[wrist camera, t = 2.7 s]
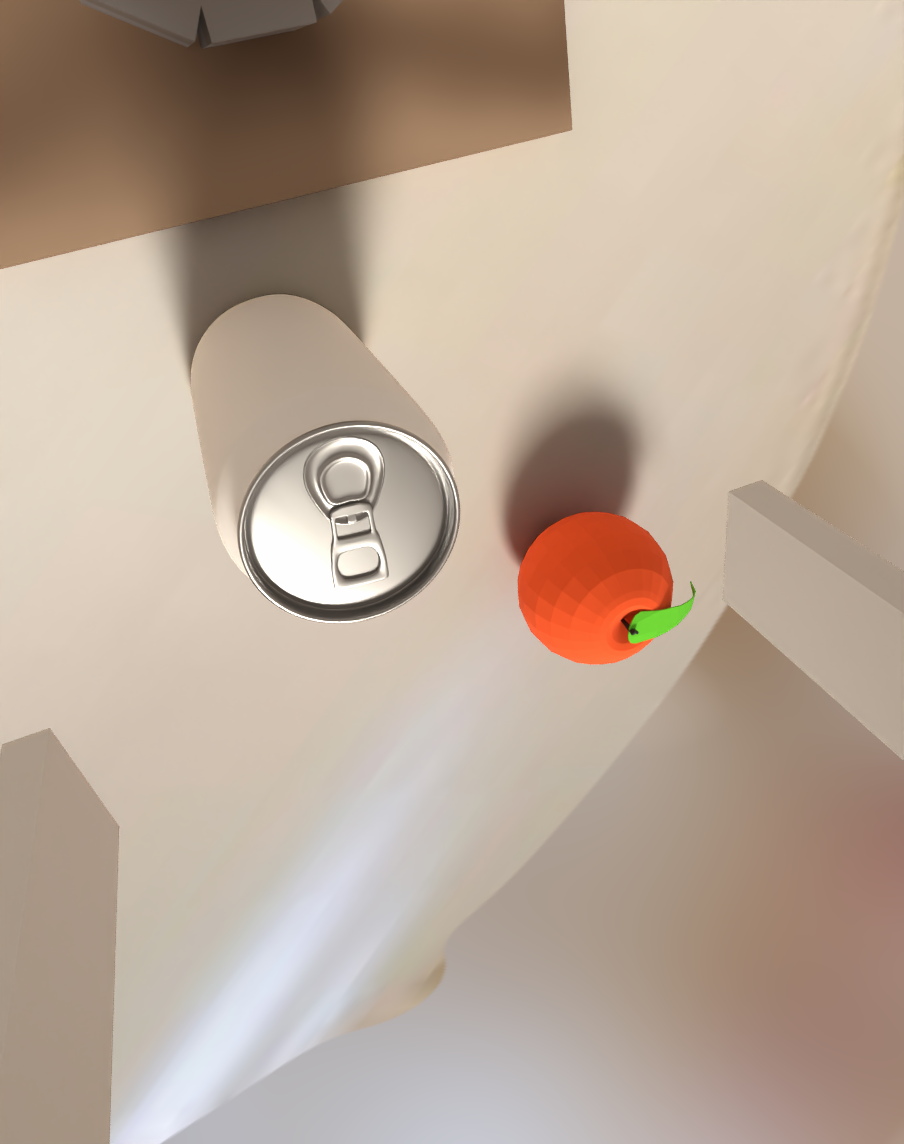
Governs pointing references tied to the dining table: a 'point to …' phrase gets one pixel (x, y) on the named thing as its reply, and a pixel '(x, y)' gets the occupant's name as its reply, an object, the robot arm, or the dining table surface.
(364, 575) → the can
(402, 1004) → the dining table surface
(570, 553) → the clementine
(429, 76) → the wooden board with blocks
